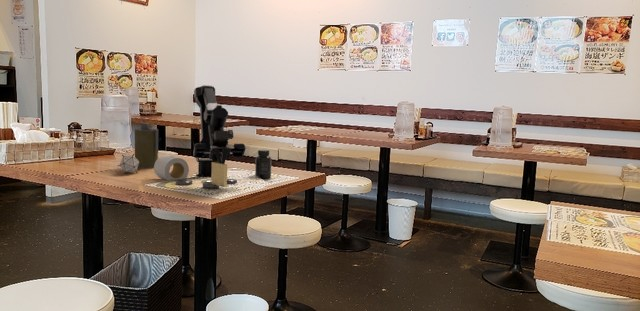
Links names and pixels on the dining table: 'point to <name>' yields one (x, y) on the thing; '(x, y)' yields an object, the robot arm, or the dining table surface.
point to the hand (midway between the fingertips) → (222, 169)
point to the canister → (146, 145)
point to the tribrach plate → (189, 182)
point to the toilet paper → (166, 162)
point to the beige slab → (217, 176)
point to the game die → (129, 163)
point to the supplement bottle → (263, 165)
